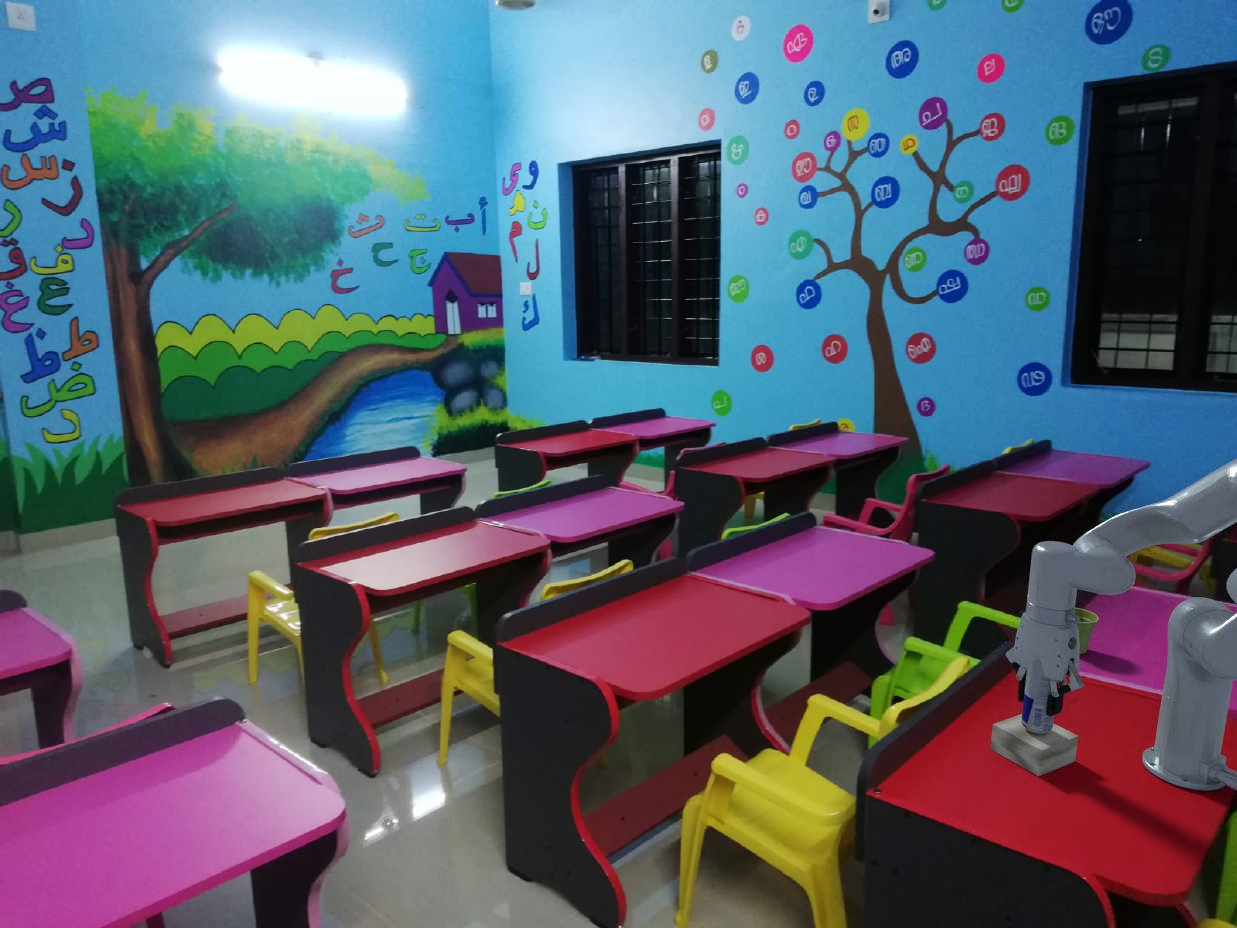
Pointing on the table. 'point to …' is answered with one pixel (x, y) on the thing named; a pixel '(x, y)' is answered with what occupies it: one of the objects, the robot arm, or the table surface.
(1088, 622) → the plant pot
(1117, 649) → the table surface
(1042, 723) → the beverage can
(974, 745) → the table surface
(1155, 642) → the table surface
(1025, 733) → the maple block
